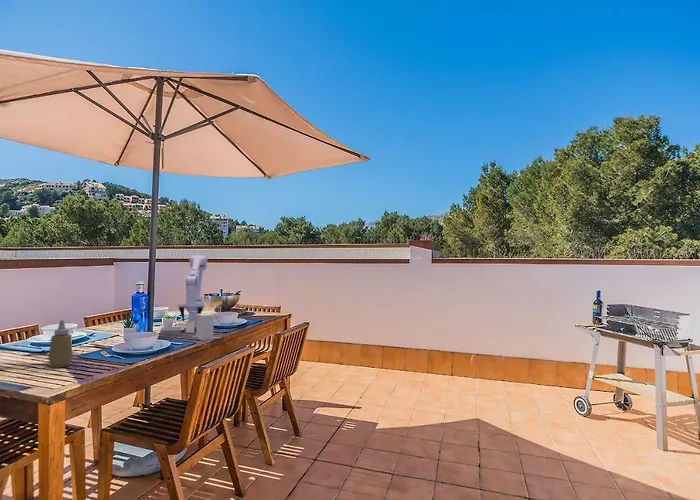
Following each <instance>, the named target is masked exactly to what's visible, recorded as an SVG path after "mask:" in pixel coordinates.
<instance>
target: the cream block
mask: <svg viewBox="0 0 700 500" xmlns="http://www.w3.org/2000/svg"><path fill="white" fill-rule="evenodd" d="M194 327H195V321H188V320H185V333H195V328H196V327H195V328H194Z"/></svg>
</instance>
